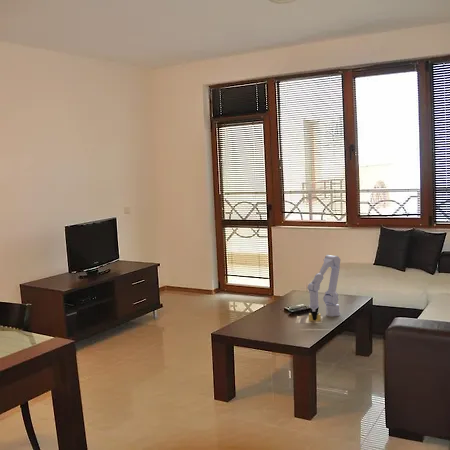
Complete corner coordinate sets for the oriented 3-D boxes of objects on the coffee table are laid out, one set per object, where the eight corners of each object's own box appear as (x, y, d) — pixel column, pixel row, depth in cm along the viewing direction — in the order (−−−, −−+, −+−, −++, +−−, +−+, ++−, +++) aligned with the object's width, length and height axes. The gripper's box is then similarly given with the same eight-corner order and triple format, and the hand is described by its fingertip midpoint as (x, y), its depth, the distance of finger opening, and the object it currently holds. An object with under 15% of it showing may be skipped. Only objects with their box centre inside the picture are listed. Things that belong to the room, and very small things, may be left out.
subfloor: (322, 317, 395) (322, 315, 394) (321, 325, 376) (321, 323, 376) (297, 317, 399) (297, 315, 398) (295, 324, 380) (295, 323, 380)
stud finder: (320, 318, 388) (320, 312, 387) (320, 320, 383) (320, 314, 383) (309, 318, 389) (309, 312, 389) (308, 320, 385) (308, 314, 385)
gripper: (309, 297, 393) (309, 315, 394) (307, 302, 379) (308, 321, 380) (319, 297, 391) (319, 315, 393) (317, 302, 377) (318, 321, 379)
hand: (314, 318), depth 386 cm, fingers closed on stud finder, 5 cm apart
